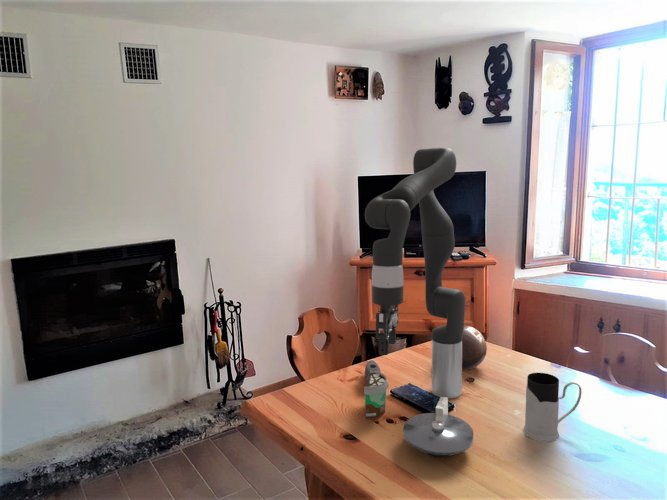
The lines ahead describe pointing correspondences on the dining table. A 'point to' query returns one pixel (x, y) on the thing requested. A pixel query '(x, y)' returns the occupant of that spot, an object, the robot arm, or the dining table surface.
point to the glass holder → (544, 406)
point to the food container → (375, 395)
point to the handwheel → (438, 432)
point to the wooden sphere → (472, 348)
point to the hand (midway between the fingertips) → (387, 348)
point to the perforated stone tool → (371, 369)
